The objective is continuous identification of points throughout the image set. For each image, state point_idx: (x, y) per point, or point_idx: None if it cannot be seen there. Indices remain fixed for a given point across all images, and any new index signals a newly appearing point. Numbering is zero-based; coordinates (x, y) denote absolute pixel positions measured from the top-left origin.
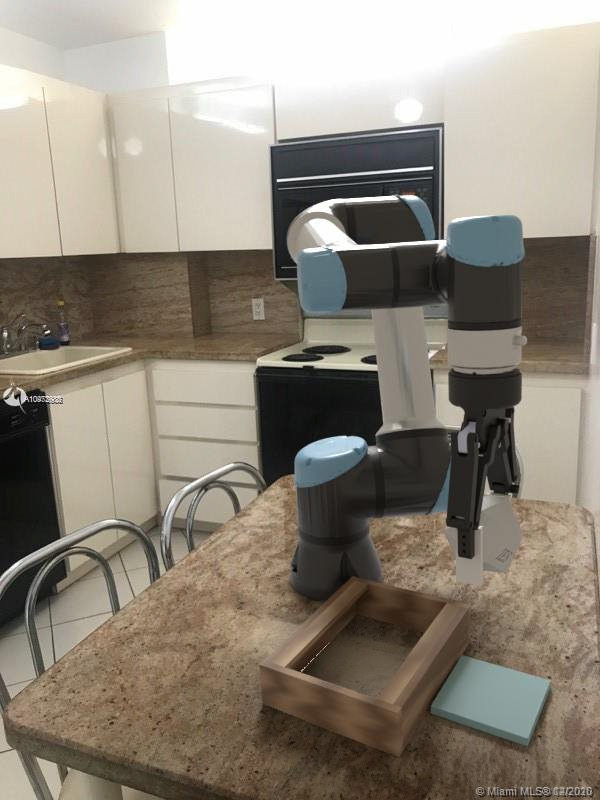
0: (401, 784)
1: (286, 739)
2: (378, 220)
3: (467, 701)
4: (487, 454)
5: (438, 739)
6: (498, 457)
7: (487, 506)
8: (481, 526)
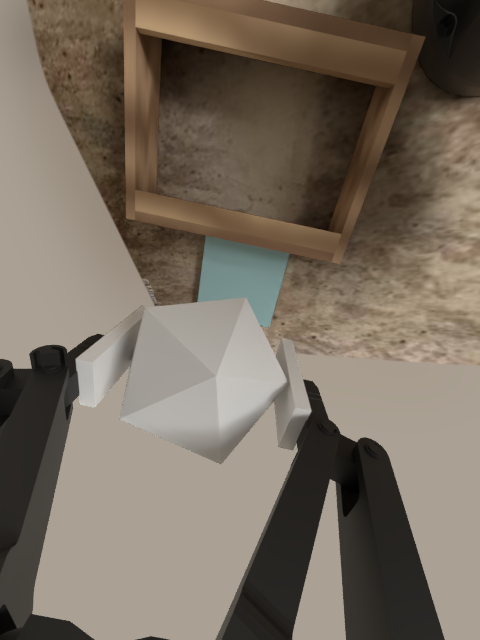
0: (124, 225)
1: (119, 90)
2: None
3: (222, 265)
4: None
5: (180, 245)
6: (240, 584)
7: (152, 429)
8: (92, 405)
